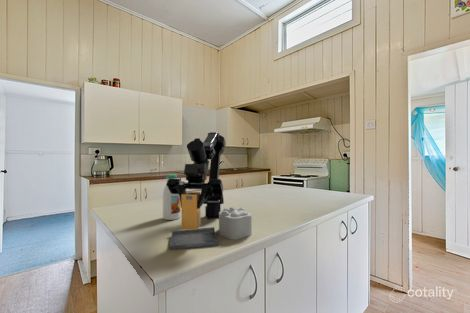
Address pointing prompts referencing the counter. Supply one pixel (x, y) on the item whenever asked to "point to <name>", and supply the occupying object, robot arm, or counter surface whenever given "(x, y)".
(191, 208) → the block
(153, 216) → the counter surface
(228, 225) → the lumpy-topped squat cylinder
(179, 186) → the robot arm
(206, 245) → the dark grey tray
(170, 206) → the milk bottle
